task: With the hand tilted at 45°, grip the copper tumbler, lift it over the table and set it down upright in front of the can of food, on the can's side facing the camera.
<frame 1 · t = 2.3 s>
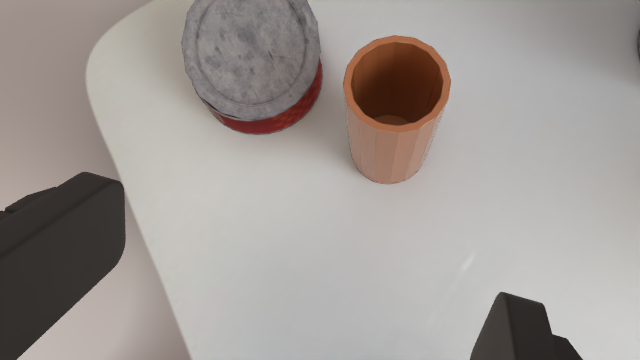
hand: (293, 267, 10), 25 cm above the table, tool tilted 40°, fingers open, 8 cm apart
canned food: (262, 79, 39), on the table
tumbler: (387, 148, 36), on the table
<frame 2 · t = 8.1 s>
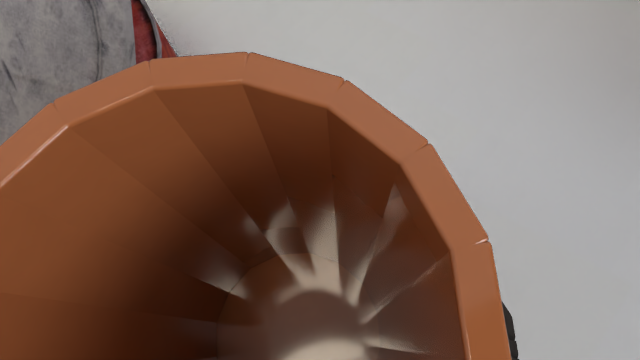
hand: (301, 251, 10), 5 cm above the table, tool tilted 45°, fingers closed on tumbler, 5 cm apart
canned food: (62, 122, 18), on the table
tumbler: (299, 335, 15), on the table, touching gripper
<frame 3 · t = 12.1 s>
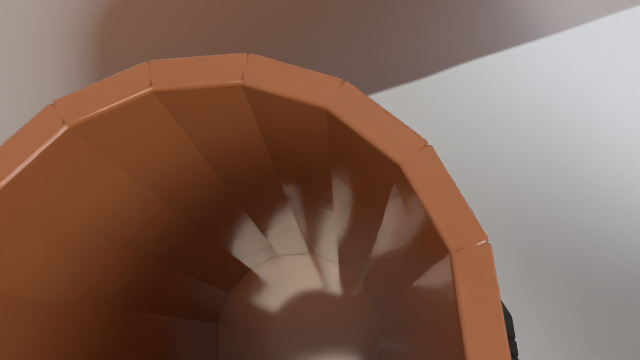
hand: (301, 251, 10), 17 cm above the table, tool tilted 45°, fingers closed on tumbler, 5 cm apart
tumbler: (299, 335, 15), point 12 cm above the table, touching gripper
when the fingers open (5 cm above the table, at t = 16.4 s): tumbler stays where it is, on the table.
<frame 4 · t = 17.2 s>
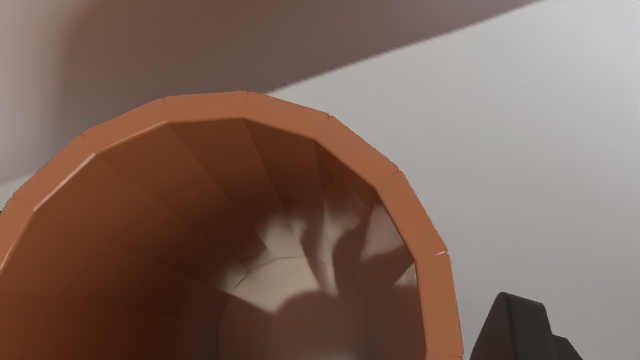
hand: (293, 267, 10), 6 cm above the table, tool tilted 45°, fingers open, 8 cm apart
tumbler: (295, 333, 16), on the table
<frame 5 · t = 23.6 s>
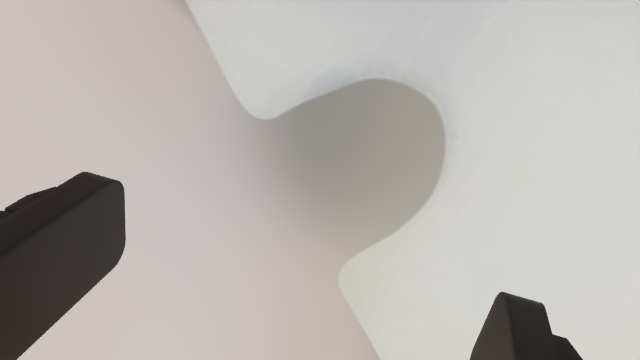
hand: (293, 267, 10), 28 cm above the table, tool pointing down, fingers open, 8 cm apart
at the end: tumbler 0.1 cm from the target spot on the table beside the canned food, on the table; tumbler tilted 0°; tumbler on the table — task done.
